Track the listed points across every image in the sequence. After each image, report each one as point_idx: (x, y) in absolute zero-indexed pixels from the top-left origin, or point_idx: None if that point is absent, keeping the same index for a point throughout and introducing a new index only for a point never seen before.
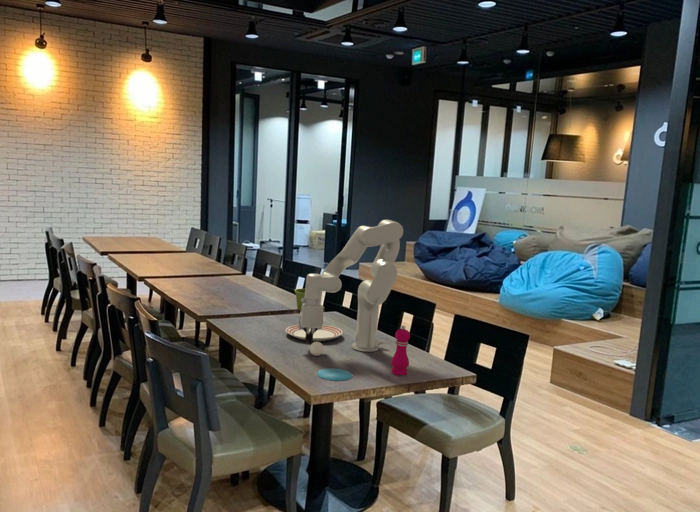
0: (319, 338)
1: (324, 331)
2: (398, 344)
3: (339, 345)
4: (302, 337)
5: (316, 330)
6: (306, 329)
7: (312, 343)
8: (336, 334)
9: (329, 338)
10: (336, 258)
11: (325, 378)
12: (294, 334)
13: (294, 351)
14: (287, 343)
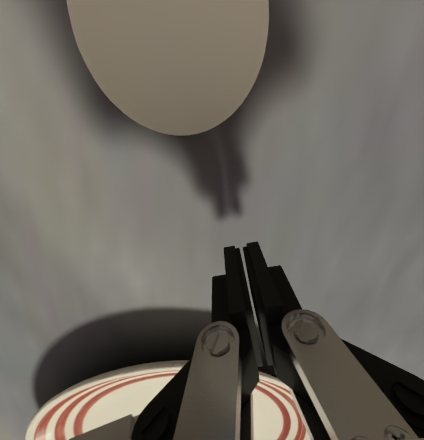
0: (153, 365)
1: None
2: None
3: (38, 323)
4: (264, 373)
5: (158, 398)
6: (378, 389)
7: (246, 7)
8: (71, 436)
9: (89, 378)
10: None
11: None
12: (279, 421)
13: (350, 172)
14: (342, 322)
